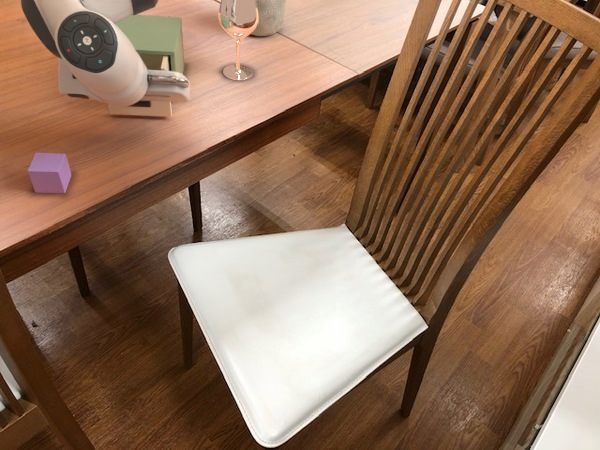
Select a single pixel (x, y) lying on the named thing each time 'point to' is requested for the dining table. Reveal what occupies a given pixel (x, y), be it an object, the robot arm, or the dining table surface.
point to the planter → (269, 17)
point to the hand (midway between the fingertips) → (136, 96)
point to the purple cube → (49, 173)
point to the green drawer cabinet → (156, 37)
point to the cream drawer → (148, 106)
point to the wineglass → (238, 30)
